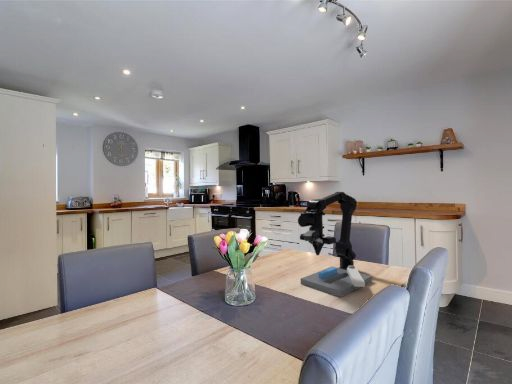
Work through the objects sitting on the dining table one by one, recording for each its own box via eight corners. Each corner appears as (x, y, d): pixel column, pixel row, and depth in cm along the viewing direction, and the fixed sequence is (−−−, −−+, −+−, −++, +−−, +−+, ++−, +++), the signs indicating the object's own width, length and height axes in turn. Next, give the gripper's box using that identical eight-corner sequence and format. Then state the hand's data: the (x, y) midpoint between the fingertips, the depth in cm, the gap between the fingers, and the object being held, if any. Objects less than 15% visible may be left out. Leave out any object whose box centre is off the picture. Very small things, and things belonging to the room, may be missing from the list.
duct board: (300, 283, 130) (300, 278, 130) (332, 271, 147) (332, 266, 147) (341, 297, 113) (341, 291, 113) (371, 281, 130) (371, 276, 130)
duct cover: (346, 270, 139) (346, 265, 139) (355, 270, 138) (355, 265, 138) (354, 286, 117) (354, 280, 117) (365, 286, 117) (364, 280, 116)
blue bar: (318, 277, 131) (318, 272, 131) (333, 271, 138) (333, 267, 138) (322, 278, 129) (322, 273, 129) (337, 272, 137) (337, 268, 136)
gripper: (292, 224, 139) (293, 255, 140) (322, 228, 125) (323, 262, 126) (306, 222, 147) (307, 251, 147) (336, 225, 132) (337, 257, 133)
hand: (317, 255), depth 138 cm, fingers closed
